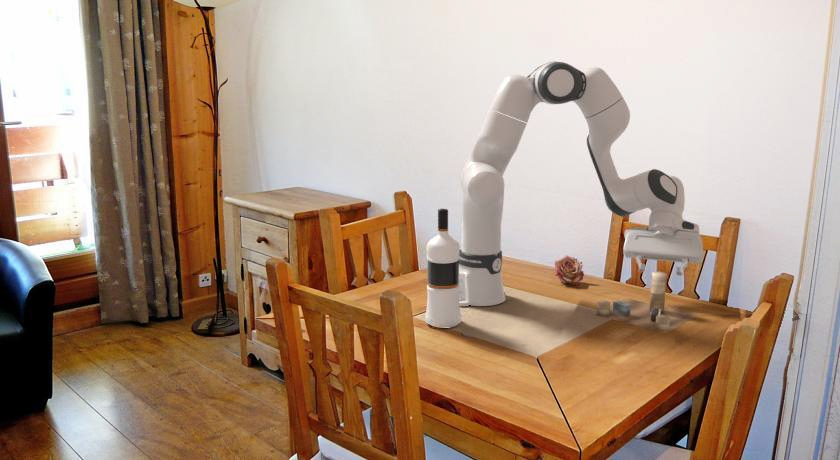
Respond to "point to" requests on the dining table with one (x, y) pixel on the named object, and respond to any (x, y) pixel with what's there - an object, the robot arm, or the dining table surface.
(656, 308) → the leg
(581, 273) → the flower
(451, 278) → the vodka
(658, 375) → the dining table surface
